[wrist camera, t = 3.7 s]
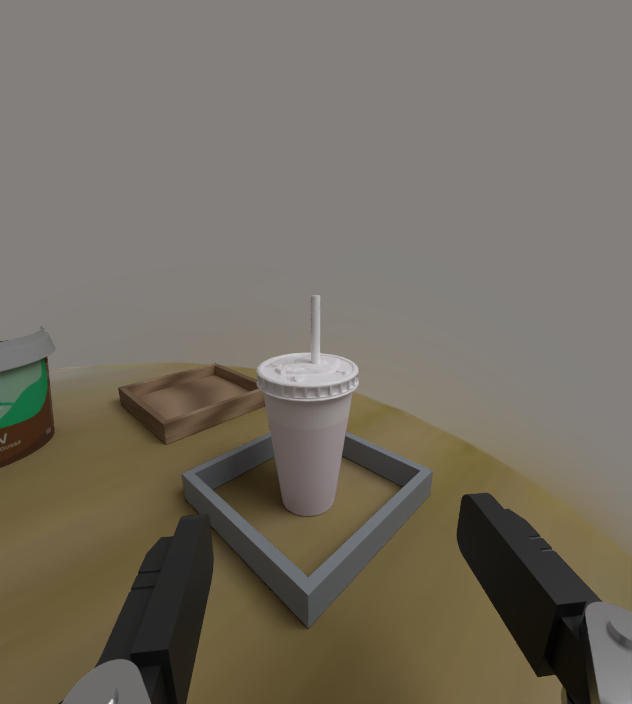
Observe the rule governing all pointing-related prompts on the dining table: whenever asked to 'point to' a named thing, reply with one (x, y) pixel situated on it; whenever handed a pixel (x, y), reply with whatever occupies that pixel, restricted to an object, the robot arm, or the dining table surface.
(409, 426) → the dining table surface
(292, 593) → the grey square frame
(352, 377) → the smoothie
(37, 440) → the food container
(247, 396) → the walnut tray
